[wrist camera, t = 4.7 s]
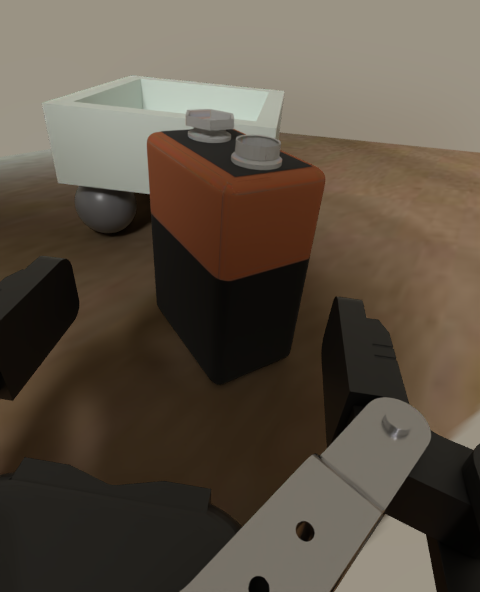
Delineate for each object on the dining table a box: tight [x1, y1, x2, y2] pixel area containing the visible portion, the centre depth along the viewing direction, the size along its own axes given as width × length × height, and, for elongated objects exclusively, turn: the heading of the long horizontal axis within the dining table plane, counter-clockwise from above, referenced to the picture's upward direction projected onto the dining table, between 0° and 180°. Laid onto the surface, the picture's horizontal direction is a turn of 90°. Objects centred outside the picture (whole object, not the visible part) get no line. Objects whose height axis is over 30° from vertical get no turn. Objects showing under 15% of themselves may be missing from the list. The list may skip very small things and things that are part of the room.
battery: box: [147, 109, 325, 385], centre depth 17 cm, size 4×7×10 cm, turn 32°
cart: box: [42, 75, 284, 233], centre depth 29 cm, size 14×13×8 cm
